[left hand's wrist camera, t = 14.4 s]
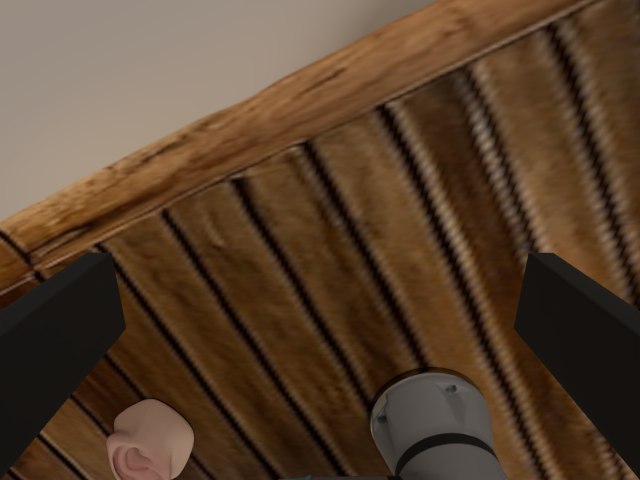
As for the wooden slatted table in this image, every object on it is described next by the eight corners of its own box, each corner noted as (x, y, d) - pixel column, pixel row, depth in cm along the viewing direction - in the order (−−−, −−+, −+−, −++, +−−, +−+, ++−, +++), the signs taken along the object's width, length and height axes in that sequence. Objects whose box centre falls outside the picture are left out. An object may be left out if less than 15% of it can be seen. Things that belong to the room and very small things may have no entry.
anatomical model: (118, 411, 47) (205, 450, 49) (133, 387, 51) (213, 425, 53) (78, 479, 51) (160, 513, 53) (95, 453, 55) (171, 485, 57)
